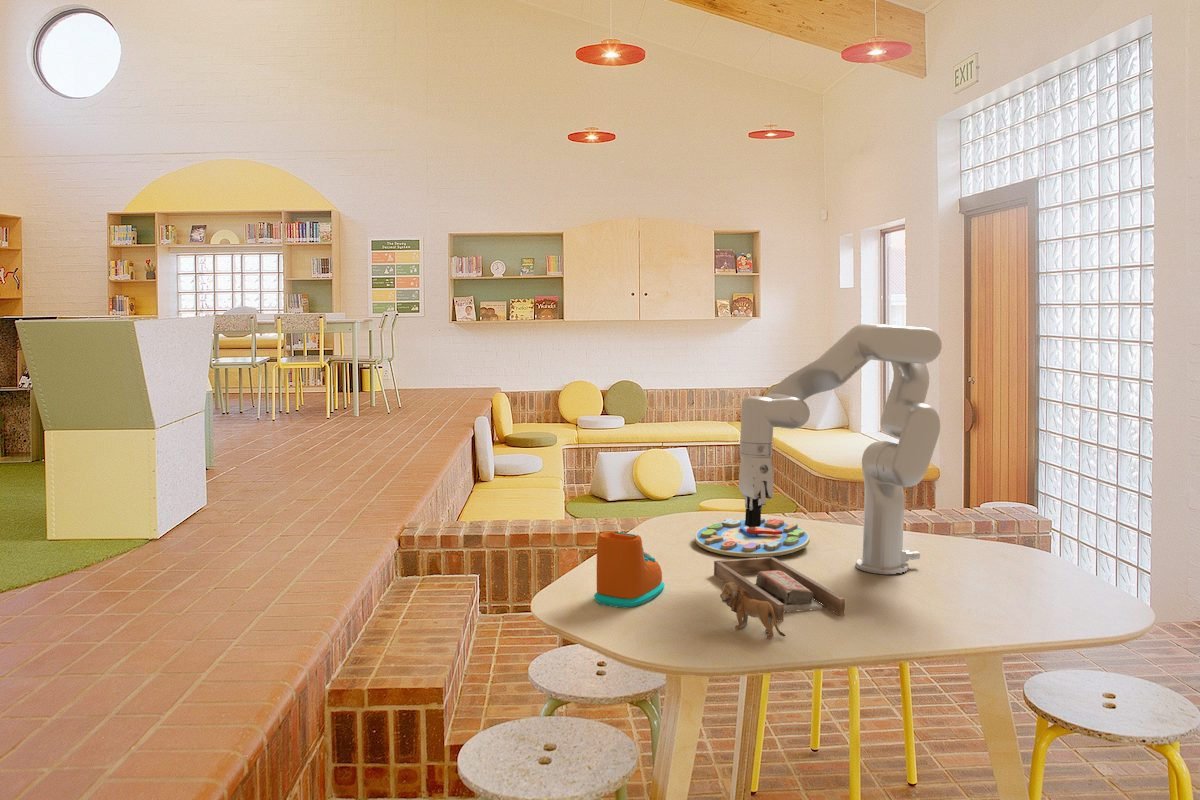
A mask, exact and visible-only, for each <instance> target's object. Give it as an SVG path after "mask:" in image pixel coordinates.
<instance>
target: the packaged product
mask: <svg viewBox="0 0 1200 800" xmlns="http://www.w3.org/2000/svg"><path fill="white" fill-rule="evenodd" d="M755 582H756V583H753V584H754V585H756V586H757V587H759V588H760V589H762V590H763V591H765V592H766V593H768V594H769V595H771V596H772V597H774V598H775V599H777V600H778V601H780V602H781V603H783V604H784V611H793V612H798V611H797V610H806V611H815V610H814V609H820V610H822V609H823V605H822V604H820V603H819V602H817V601H815V600H814V599H812V598H813V596H814V595H813V593H812V592H811V591H810V590H809V589H807V588H806V587H804V586H803V585H802V584H800V583H799V582H797V581H796V580H794V579H793V578H792V577H790V576H789V575H787V574H786V573H785V572H782V571H779V570H776V571H774V570H773V571H761V572H758V573H757V575H756V581H755ZM810 609H812V610H810Z"/></svg>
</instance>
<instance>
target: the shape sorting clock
mask: <svg viewBox="0 0 1200 800" xmlns="http://www.w3.org/2000/svg"><path fill="white" fill-rule="evenodd" d="M798 525H799V524H797V523H788V522H785V520H782V519H778V518H772V519H771V518H769V519H765V518H764V517H761V523H760V526H759V527H748V526H746V525H745V519H736V518H726V519H724V520H723V521H719V522H718V521H717V522H715V523H710V524H707V525H705V526H704V525H703V527H701V528H698V530H697V531H695V534H694V541H695V543H696V545H698V546H699V547H700V548H702V549H704V550H706V551H709V552H711V553H715V554H719V555H724V556H730V557H742V558H756V557H757V558H761V557H773V556H774V557H778V556H784V555H788V554H793V553H795V552H798V551H800V550H803V549H804V548H806V547H807V546H808V545H809V544H810V542H811V541H810V540H811V539H810V538H811V536H810V534H809V532H808V531H807V530H805V529H804V528H802V527H800V526H798Z"/></svg>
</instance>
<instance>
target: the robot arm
mask: <svg viewBox="0 0 1200 800" xmlns="http://www.w3.org/2000/svg"><path fill="white" fill-rule="evenodd" d="M942 347H943V345H942V339H941V337H940V335H939V334H938V333H937V332H936V331H935V330H933V329H931V328H929V327H919V326H918V327H917V326H904V325H903V326H898V325H889V324H881V323H880V324H877V323H860V324H857V325H855V326H853V327H852V328H851V329H849V330H848V331H847V332H846V333H845V334H844V335H843V336H842V337H840V338H839V339H838V340H837V341H836V342H835V343H834V344H833V345H832V346H830V347H829V348H828V350H826V351H825V352H824V353H823V354H822V355H820V357H818V358H817V359H816V360H814V361H812V362H810V363H808V364H807V365H805V366H803V367H801V368H800V369H798V370H796V371H794V372H792V373H791V374H789V375H788V376H786V377H784V379H782V380H781V381H780V382H779V383H778V384H777V385H775V386H774V387H773V388H772V389H771V390H770V391H769V392H768V393H766V395H765V396H761V395H760V396H759V395H753V396H752V395H751V396H746V397H744V398H743V399H742V401H741V410H740V411H741V412H740V436H739V437H740V438H739V439H740V440H739V456H740V463H739V469H738V491H739V492H740V493H741V495H742V498H743V499H744V507H745V518H744V520H745V525H746V526H748V527H759V526H760V523H761V518H762V511H763V506H766V505H767V499H768V500H771V499H772V498H773V497H774V466H773V458H772V456H773V444H774V443H773V441H774V440H773V439H774V428H782V429H788V430H795V429H799V428H802V427H803V426H804V425H806V424H807V423H808V421H809V419H810V416H811V414H810V411H811V410H810V408H809V407H810V406H808V404H807V403H806V401H805V400H806V399H808V398H811V397H812V396H814V395H818V394H820V393H823V392H824V393H825V392H829V391H832V390H834V389H838V388H840V387H842V386H843V385H845V383H846V382H847V381H849V380H850V379H851V378H852V377H853V376H854V375H855V374H856V373H857V372H858V371H860V370H862V368H863V367H864V366H865V365H867V363H869V362H870V361H872V360H873V361H881V362H890V364H891V366H892V370H893V379H892V383H891V386H890V389H889V392H888V396H887V398H886V401H885V405H884V407H883V411H882V414H881V418H880V428H881V429H882V431H883V433H885V434H886V435H888V436H889V437H893V438H895V439H898V440H899V441H898V442H896V443H895V442H891V441H885V440H879V441H875V442H873V443H870V444H869V445H868V446H866V448H865V449H864V451H863V453H862V458H861V468H862V469H861V470H862V476H863V484H864V486H863V487H864V501H863V502H864V504H863V505H864V506H863V507H864V508H863V529H862V531H863V532H862V533H863V536H862V557H861V558H858V559H857V560H856V561H855V566H856V568H857V569H859V570H861V571H863V570H864V572H866V571H867V573H872V574H877V573H878V574H879V575H897V574H896V573H900V574H903V573H902V572H904V573H906V572H908V571H909V563H908V562H909V561H910V560H912V561H913V560H914V561H915V560H919V559H920V558H921V554H920V552H919V551H909V550H904V526H905V525H904V519H905V504H906V503H905V491H904V487H905V488H911V487H914V486H917V485H918V484H919V483H921V481H922V480H923V478H925V476H926V473H927V471H928V468H929V466H930V463H931V461H932V456H933V454H934V451H935V448H936V444H938V443H937V442H938V438H939V436H940V432H941V420H940V416H939V413H938V412H937V410H936V409H935V408H934V407H933V406H931V405H929V404H926V402H925V401H926V398H927V394H928V390H929V388H930V387H929V386H930V374H929V369H928V366H927V364H929V363H931V362H933V361H934V360H936V359H937V358H938V357H939V356H940V353H941V351H942ZM907 570H908V571H907ZM905 571H906V572H905Z"/></svg>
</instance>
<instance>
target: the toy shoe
mask: <svg viewBox="0 0 1200 800" xmlns="http://www.w3.org/2000/svg"><path fill="white" fill-rule="evenodd" d="M661 568H662V567H661V565H660V563H659V562H658V561H656V558H655V557H654V556H653V557H652V555H651V554H650V553H648V552H646V551H644V547H643V540H642V537H641V535H639V534H633V533H627V532H626V533H625V532H618V531H617V532H616V533H615V532H614V531H604V532H601V533H599V534H598V537H597V544H596V592H595V594H594V596H593V597H594V600H595V601H596V602H597V603H598V602H599V604H600V603H601V605H604V604H605V606H609V605H611V606H610V607H614V606H617V607H616V608H622V607H628V608H634V607H637V606H641V605H642V603H643V604H644V602H645V603H647V602H649V601H651V600H652V599H654V598H655V597H656V595H657V596H658V595H659V594H660V593H661V592H662V591H663V590H664V589H665V583H664V582H663V572H662V569H661ZM648 600H649V601H648ZM633 606H634V607H633Z"/></svg>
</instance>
